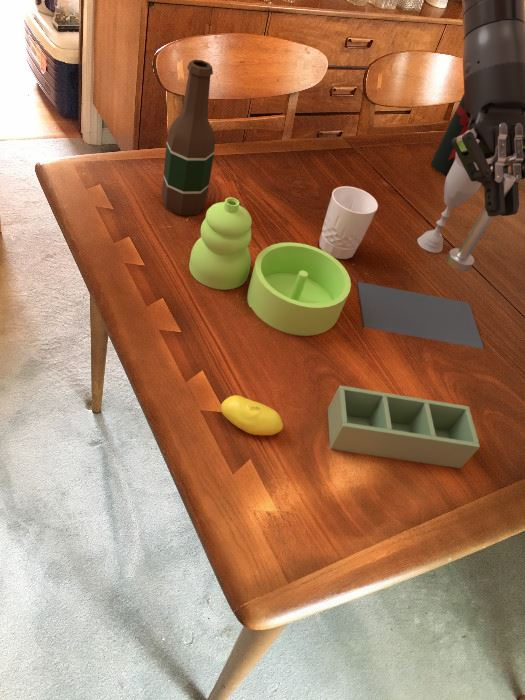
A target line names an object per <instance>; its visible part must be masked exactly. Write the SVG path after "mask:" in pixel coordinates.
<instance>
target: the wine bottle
mask: <svg viewBox="0 0 525 700" xmlns="http://www.w3.org/2000/svg"><path fill="white" fill-rule="evenodd" d="M469 122H470V119H469V118H468V117H467V116H466V114H465V98H464V94H463V95H462V97H461V99H460V101H459V103H458V105H457V108H456V109H455V112H454V114H453V115H452V117H451V120H450V122H449V124H448V126H447V128H446V131H445V132H444V135H443V137H442V138H441V141H440V143H439V146H437V149H436V151H435V153H434V155H433V158H432V160H431V162H432V163H431V167H432V166H433V167H434V168H435V169H436V170H437V171H436V170H435V169H434V168H433V167H432V168H433V169H434V170H435V171H436V172H438V171H439V172H441V173H443V174H444V175H443V174H442V175H443V176H445V177H447V175H448V173H449V171H450V169H451V167H452V165H453V163H454V161H455V159H456V151H455V149H454V147H453V145H452V140H453V139H454V138H456V137H458V136H461V135H463V134H464V133H465V132H467V131H468V124H469ZM439 172H438V173H439ZM441 173H440V174H441Z"/></svg>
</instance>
